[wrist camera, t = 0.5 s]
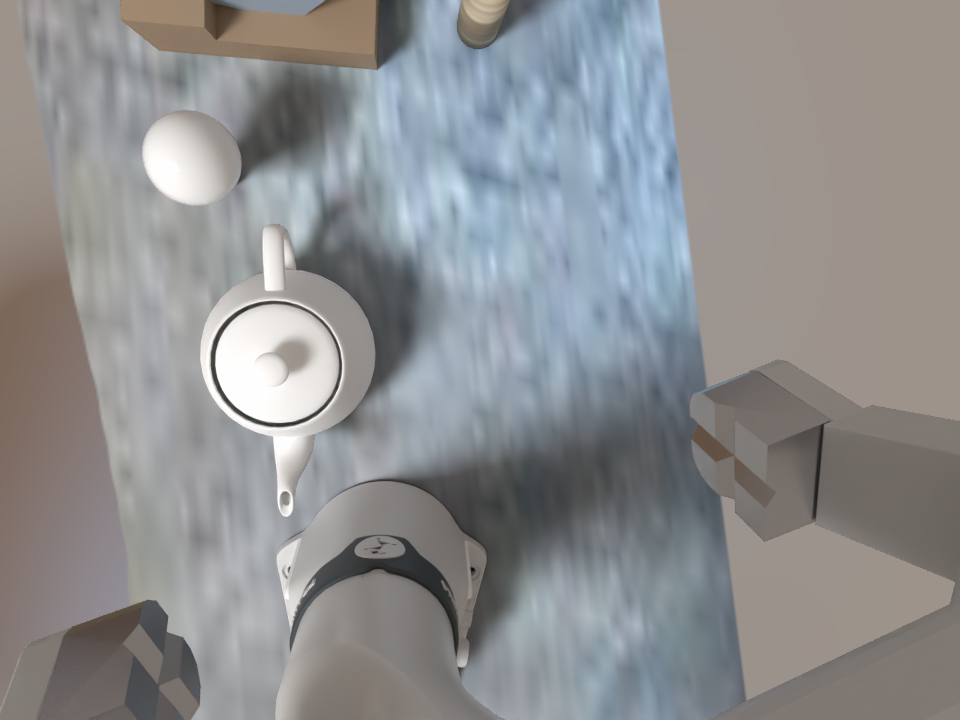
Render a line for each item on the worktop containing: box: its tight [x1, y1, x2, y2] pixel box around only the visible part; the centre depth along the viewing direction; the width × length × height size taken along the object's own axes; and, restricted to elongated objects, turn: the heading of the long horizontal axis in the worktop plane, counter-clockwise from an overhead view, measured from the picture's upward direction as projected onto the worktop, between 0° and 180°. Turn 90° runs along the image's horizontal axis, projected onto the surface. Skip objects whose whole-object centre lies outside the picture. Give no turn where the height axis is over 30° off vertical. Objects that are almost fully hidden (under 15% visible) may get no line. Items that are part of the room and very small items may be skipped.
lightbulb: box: [142, 110, 242, 206], centre depth 48 cm, size 6×6×11 cm
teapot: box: [200, 224, 375, 517], centre depth 51 cm, size 22×14×11 cm, turn 1°
